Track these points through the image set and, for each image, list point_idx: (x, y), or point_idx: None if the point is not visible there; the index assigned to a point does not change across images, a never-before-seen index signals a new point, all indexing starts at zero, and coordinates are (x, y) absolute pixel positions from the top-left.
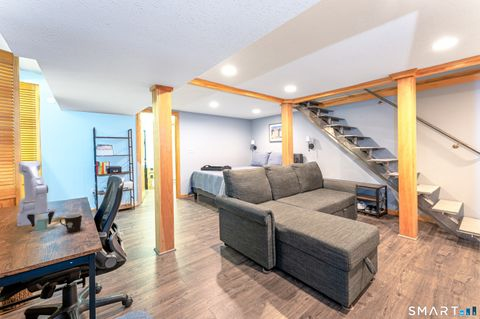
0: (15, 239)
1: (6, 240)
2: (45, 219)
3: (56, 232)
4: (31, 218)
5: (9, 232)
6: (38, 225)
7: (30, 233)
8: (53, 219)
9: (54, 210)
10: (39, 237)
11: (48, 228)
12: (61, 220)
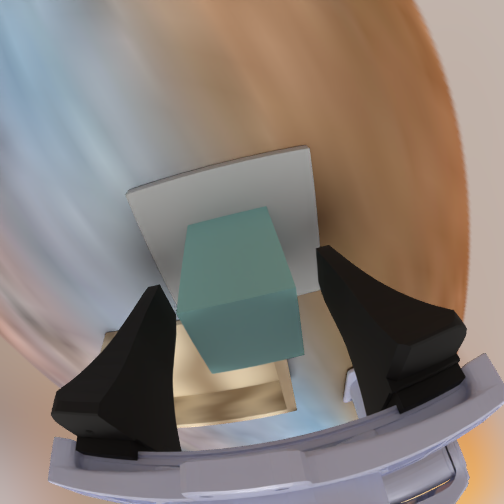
0: (365, 26)
1: (425, 44)
2: (211, 357)
3: (35, 144)
4: (387, 320)
5: (453, 256)
6: (255, 249)
7: (299, 147)
8: (250, 404)
9: (59, 472)
10: (122, 7)
11: (181, 263)
12: (203, 398)
